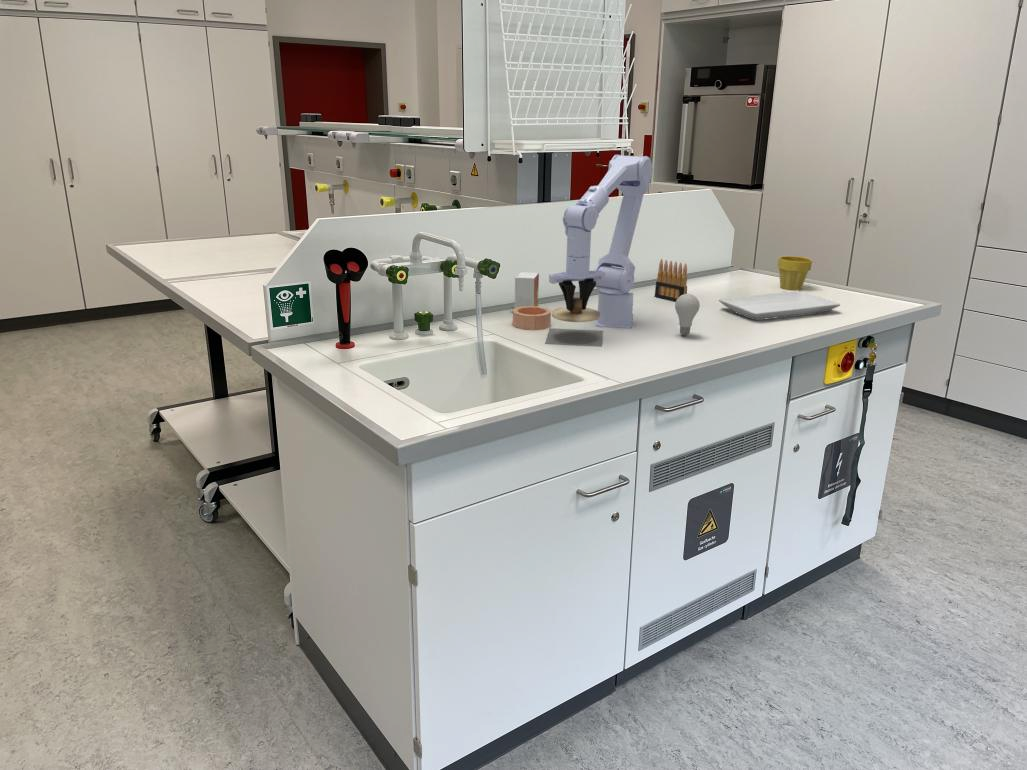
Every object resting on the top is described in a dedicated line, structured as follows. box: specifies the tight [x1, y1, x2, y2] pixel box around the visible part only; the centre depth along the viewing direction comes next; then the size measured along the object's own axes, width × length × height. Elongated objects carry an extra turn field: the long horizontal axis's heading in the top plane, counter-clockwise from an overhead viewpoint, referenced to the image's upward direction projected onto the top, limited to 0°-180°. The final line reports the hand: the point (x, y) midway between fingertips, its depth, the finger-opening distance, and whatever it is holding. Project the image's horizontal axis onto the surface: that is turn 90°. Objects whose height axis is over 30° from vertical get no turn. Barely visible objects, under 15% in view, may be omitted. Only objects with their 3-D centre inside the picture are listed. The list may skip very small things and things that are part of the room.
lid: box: [551, 297, 600, 323], centre depth 190 cm, size 12×12×4 cm
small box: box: [514, 271, 540, 309], centre depth 216 cm, size 8×6×10 cm
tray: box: [718, 290, 841, 320], centre depth 221 cm, size 17×31×4 cm, turn 113°
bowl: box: [512, 305, 552, 331], centre depth 203 cm, size 10×10×4 cm
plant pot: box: [777, 255, 813, 291], centre depth 249 cm, size 10×10×10 cm
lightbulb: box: [674, 293, 701, 337], centre depth 194 cm, size 6×6×11 cm
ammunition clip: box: [654, 258, 688, 303], centre depth 231 cm, size 11×2×12 cm, turn 43°
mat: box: [544, 327, 604, 348], centre depth 193 cm, size 14×14×1 cm
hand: (576, 309), depth 190 cm, fingers closed on lid, 3 cm apart
